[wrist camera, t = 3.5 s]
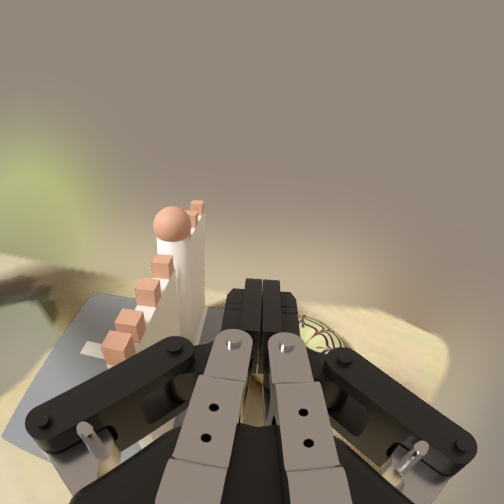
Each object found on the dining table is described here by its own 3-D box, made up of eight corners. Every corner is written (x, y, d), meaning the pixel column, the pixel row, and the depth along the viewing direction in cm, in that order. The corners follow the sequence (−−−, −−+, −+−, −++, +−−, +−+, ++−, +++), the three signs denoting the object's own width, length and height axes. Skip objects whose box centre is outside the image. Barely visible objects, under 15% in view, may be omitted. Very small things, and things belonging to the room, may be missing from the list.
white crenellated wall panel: (173, 375, 27) (158, 250, 21) (185, 377, 27) (174, 252, 21) (148, 463, 19) (100, 346, 13) (163, 466, 19) (123, 351, 13)
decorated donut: (276, 423, 25) (282, 400, 23) (224, 349, 33) (225, 323, 31) (360, 380, 29) (371, 355, 28) (302, 323, 37) (307, 298, 36)
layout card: (4, 439, 17) (1, 435, 16) (94, 296, 38) (93, 292, 38) (218, 507, 17) (218, 505, 16) (240, 313, 38) (240, 309, 38)
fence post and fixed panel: (166, 374, 28) (146, 213, 20) (189, 305, 38) (186, 174, 30) (194, 378, 28) (186, 215, 20) (211, 307, 38) (213, 175, 30)
